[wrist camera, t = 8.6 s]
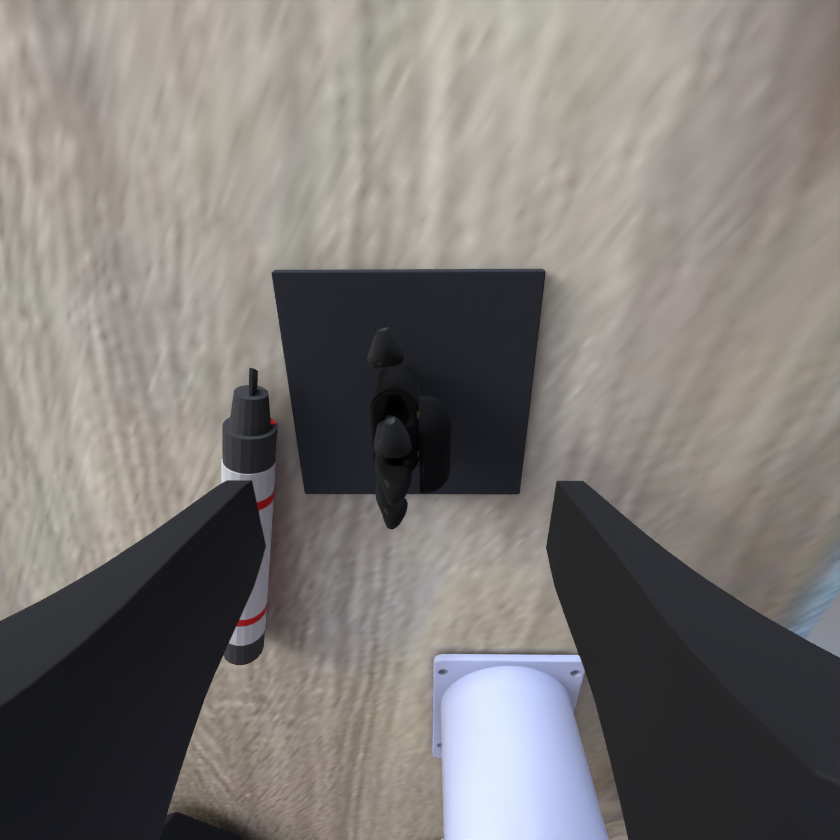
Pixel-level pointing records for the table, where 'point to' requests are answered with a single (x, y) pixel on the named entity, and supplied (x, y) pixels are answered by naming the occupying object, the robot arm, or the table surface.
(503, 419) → the coaster
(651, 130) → the table surface
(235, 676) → the table surface
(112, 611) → the robot arm
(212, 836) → the electric trimmer
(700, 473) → the table surface
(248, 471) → the marker
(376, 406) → the wireless earbuds
